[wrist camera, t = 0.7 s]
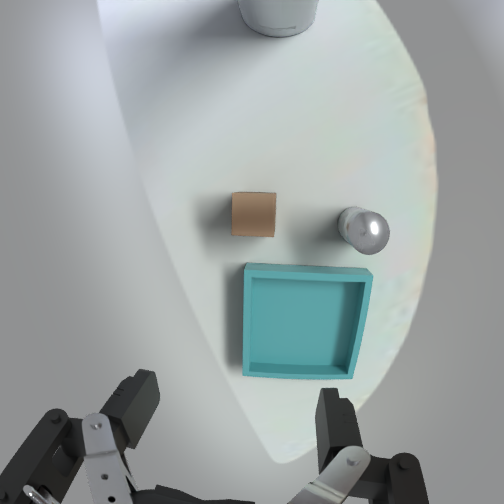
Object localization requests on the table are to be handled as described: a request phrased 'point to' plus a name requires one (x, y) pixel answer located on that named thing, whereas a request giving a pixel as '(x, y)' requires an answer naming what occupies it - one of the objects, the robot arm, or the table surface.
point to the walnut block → (253, 214)
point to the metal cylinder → (364, 230)
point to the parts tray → (303, 320)
